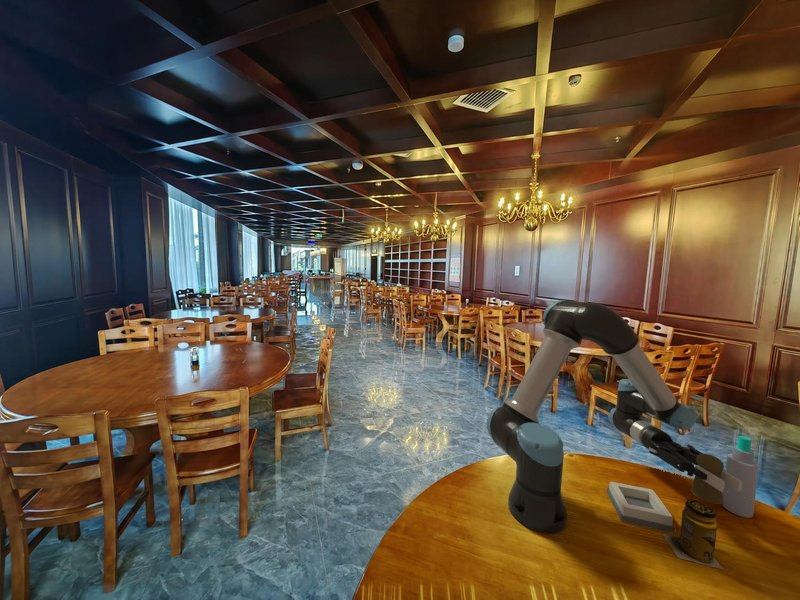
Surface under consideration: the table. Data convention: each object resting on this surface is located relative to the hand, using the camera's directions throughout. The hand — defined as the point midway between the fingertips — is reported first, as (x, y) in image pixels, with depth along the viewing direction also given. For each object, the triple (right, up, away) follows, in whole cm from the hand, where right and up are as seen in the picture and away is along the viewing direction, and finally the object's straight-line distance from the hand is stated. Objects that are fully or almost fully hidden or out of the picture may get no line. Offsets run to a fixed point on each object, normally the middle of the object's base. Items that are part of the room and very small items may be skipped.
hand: (731, 486), depth 76 cm
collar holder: (-15, -14, +11) cm, 23 cm away
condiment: (-12, -15, -2) cm, 19 cm away
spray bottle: (+15, -15, +12) cm, 24 cm away
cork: (0, -6, +6) cm, 9 cm away
